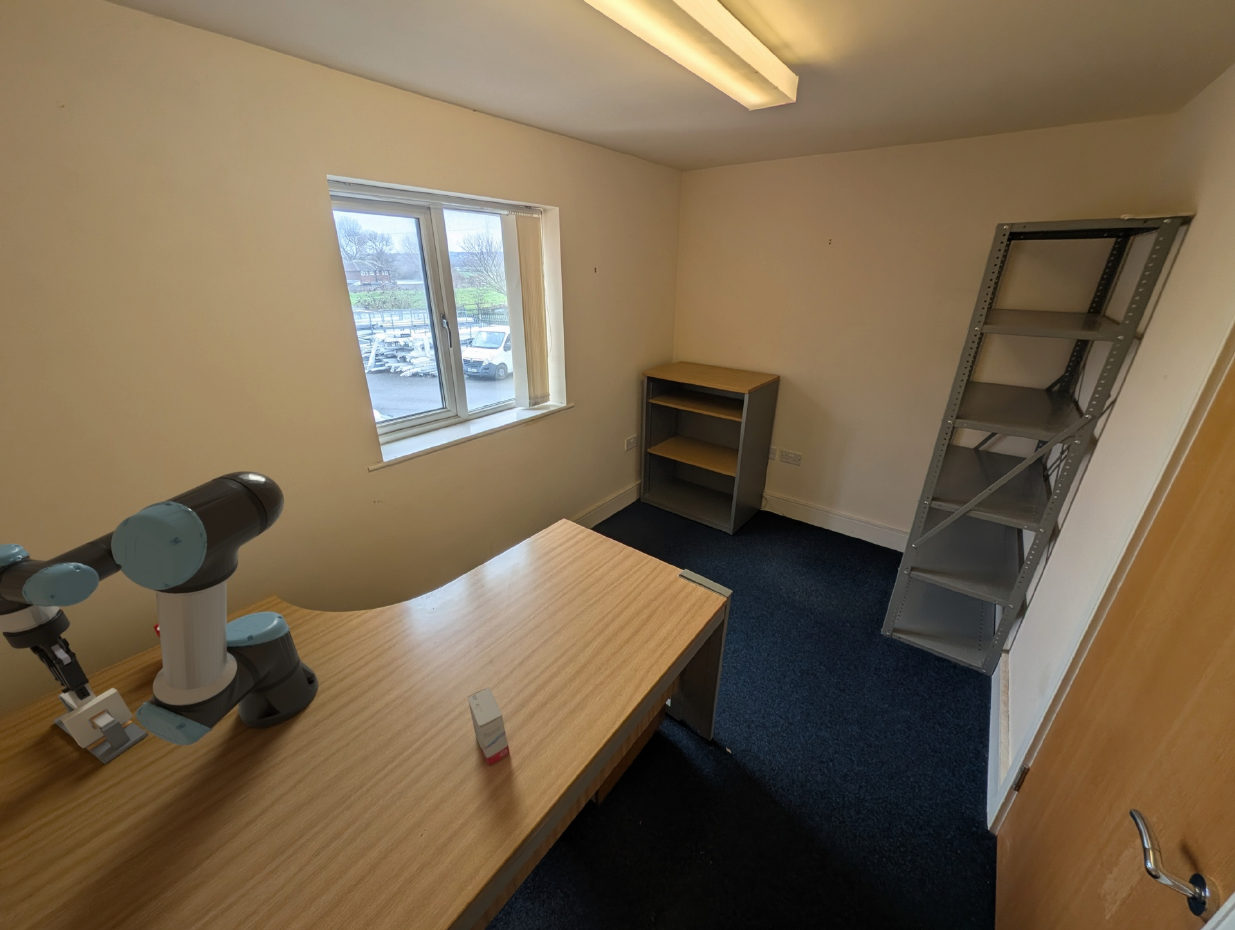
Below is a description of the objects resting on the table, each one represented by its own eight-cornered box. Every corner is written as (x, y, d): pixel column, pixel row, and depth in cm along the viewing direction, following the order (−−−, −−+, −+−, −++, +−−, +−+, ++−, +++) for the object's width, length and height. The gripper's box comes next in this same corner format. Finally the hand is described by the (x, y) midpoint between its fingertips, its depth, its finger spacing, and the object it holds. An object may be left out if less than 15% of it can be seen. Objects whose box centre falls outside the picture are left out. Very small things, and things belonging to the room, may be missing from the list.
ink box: (510, 754, 94) (504, 715, 90) (486, 768, 92) (479, 728, 87) (496, 723, 101) (490, 684, 96) (473, 734, 98) (466, 696, 94)
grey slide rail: (148, 734, 99) (134, 711, 96) (104, 764, 93) (88, 740, 90) (97, 698, 107) (83, 676, 104) (54, 722, 101) (38, 700, 98)
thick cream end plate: (133, 716, 100) (117, 690, 97) (83, 748, 94) (64, 721, 91) (128, 713, 101) (112, 687, 98) (78, 744, 95) (59, 718, 91)
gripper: (75, 616, 87) (128, 703, 96) (46, 598, 92) (98, 682, 101) (16, 643, 81) (78, 733, 90) (-12, 622, 86) (50, 710, 95)
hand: (89, 706), depth 96 cm, fingers closed
